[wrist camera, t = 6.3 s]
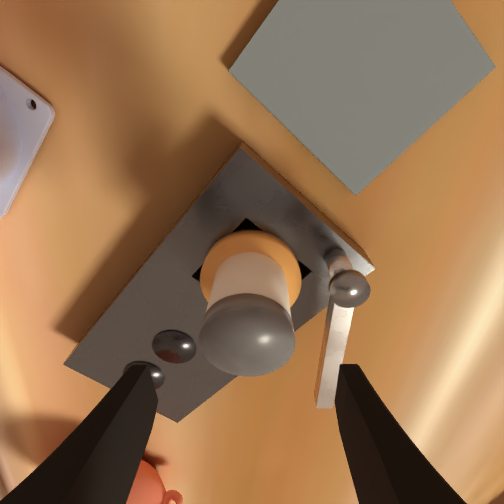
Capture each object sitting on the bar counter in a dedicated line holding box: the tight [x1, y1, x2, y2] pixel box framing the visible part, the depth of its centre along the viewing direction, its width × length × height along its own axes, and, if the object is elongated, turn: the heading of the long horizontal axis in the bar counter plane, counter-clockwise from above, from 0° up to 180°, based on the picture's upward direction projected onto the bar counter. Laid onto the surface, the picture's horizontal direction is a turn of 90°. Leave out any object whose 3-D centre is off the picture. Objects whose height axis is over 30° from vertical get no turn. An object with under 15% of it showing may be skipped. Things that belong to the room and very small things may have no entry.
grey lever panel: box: [63, 141, 375, 423], centre depth 20 cm, size 10×20×2 cm, turn 139°
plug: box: [199, 228, 302, 376], centre depth 16 cm, size 6×6×8 cm
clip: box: [314, 249, 370, 408], centre depth 18 cm, size 2×10×3 cm, turn 0°
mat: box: [229, 0, 496, 195], centre depth 14 cm, size 9×8×1 cm
